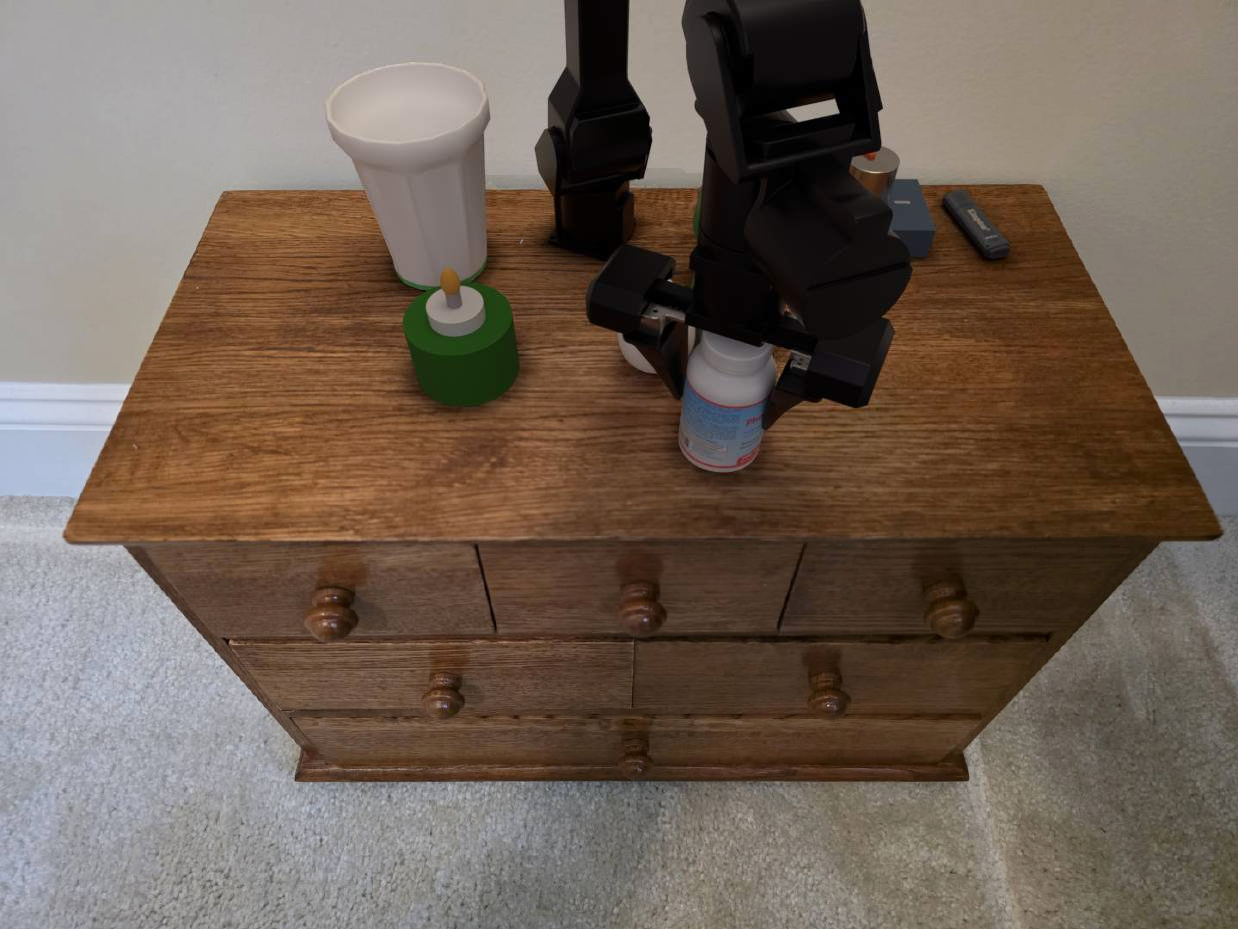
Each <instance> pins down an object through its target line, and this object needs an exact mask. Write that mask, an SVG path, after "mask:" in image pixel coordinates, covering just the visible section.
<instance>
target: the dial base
mask: <svg viewBox="0 0 1238 929" xmlns="http://www.w3.org/2000/svg"><path fill="white" fill-rule="evenodd" d="M887 205H888V206H889V207H890V208H891V209H892V211H893V219H892V222H891V225H890V229H891V230H892V231H893V232H894V233H895V234H896V235H897V236H898V237H899V238H900V239H901V240H902V241H903V242H904V243H905V244H906V245H907V246H908V249H909V251H910V254H911V258H921V259H922V258H923V259H924V258H927V256H928V254H929V251H930V248H931V246H932V242H933V240H934V237H935V234H936V231H937V229H936V227H935V223H934V220H933V218H932V216H931V212H930V209H929V207H928V204H927V200H926V198H925V196H924V193H923V190H922V187H921V184H920V181H919V179H918V178H895V181H894V184H893V188H892V191H891V194H890V198H889V201H888V204H887Z"/></svg>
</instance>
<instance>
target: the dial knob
mask: <svg viewBox="0 0 1238 929" xmlns="http://www.w3.org/2000/svg"><path fill="white" fill-rule="evenodd" d="M900 163H901V160H900V157H899V155H898V154H897V153H896V151H894V150H892V149H891V148H888V147H886V146H884V145H881V149H880V151H878V152H874V153H870V154H865V155H861V156H857V157H853V158H852V162H851V166H850V170H849V172H850V173H851V174H852V175H853V176H854V177H855V178H856V179H857V180H858V181H859V182H860V183H861V184H862V185H863V186H864V187H865V188H866V189H867V190H869V191H870V192H872V193H874V194H876V195H878V196H879V197H880V198H881V199H882V200H883V201H884V202H885V203H886V204H888V201H889V198H890V194H891V191H892V188H893V184H894V181H895V179H897V178H896V177H897V174H898V170H899V168H900Z"/></svg>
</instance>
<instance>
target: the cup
mask: <svg viewBox="0 0 1238 929" xmlns="http://www.w3.org/2000/svg"><path fill="white" fill-rule="evenodd" d="M490 109H491V108H490V101H489V97H488V94H487V90H486V88H485V83H483V82H482V81H480V79H478V78H477V77H476V76H474V75H473V74H472V73H470V72H469V71H468V70H465V69H462V68H459V67H455V66H452V65H448V64H445V63H440V62H439V63H438V62H423V61H410V62H402V63H392V64H386V65H382V66H378V67H376V68H372V69H369V70H366V71H363V72H360V73H358V74H355V75H354V76H352V77H350V78H349V79H348V80H346V81H344V82H343V83H341V84H340V85H338V86H336V87H335V89H334V90H333V92H332V94H330V95H329V97H328V99H327V100H326V101H325V103H324V110H325V121H326V124H327V127H328V130H329V132H330V135H331V138H332V141H333V142H334V143H335V144H336V145H337V146H338V147H339V149H341V150H342V151H343V152H344V153H345V154H346V155H347V156H348V157H349V158H350V160H351V162H352V164H353V166H354V168H355V172H356V174H357V176H358V179H359V181H360V184H361V185H362V189H363V190H364V193H365V195H366V198H367V201H368V203H369V205H370V208H371V210H372V213H373V215H374V218H375V220H376V222H377V225H378V227H379V230H380V232H381V233H382V237H383V239H384V242H385V244H386V247H387V249H388V251H389V254H390V256H391V258H392V264H393V267H394V271H395V274H396V275H397V276H398V278H399V279H400V280H401V281H402V282H403V283H404V284H405V285H408V286H409V287H412V288H415V289H417V290H421V291H428V290H430V289H432V288H435V287H438V286H441V285H440V278H441V274H442V272H443V270H445V269H446V268H450V269H452V270H454V271H455V272H456V274H457V275H458V277H459V279H460V282H473V281H474V280H475V279H476V278H477V277H479V275H481V273H482V272H483V271H484V269H485V267H486V265H487V262H488V238H487V236H488V234H487V203H486V202H487V198H486V195H487V194H486V157H485V156H486V155H485V151H486V150H485V131H486V129H487V127H488V125H489V124H490V121H491V111H490Z"/></svg>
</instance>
